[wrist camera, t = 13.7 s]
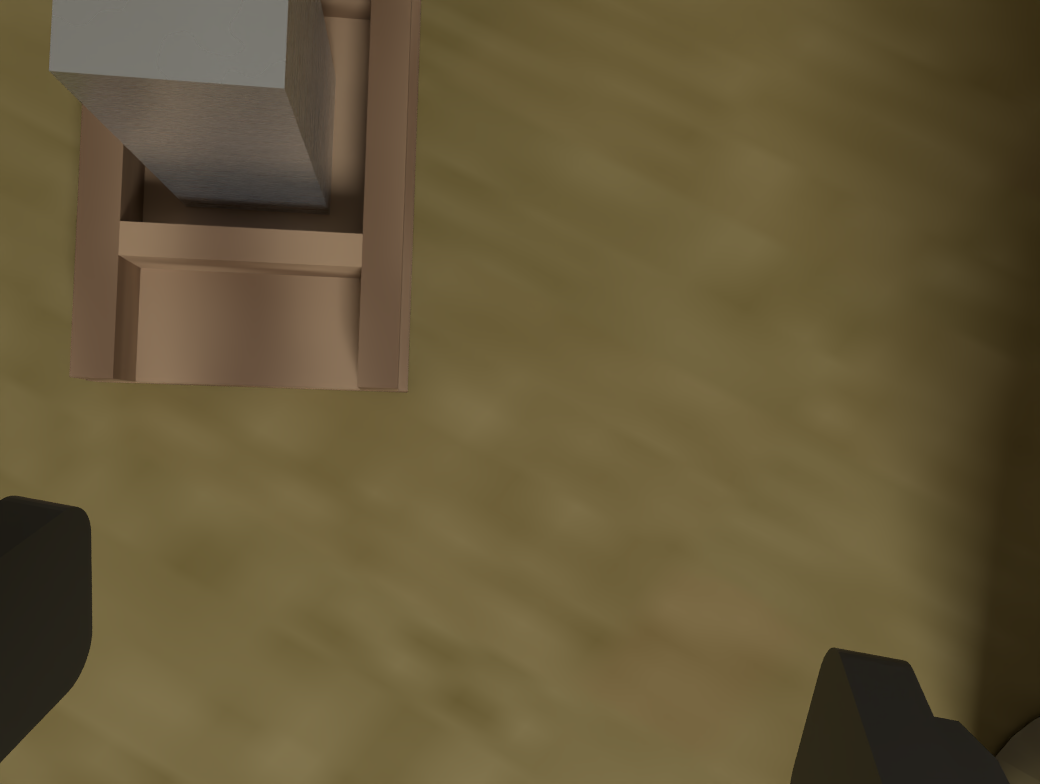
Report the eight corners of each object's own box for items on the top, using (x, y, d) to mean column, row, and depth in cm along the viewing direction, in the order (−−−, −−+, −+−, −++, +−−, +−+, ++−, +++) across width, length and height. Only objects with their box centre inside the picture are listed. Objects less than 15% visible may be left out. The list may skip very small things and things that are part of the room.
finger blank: (336, 59, 32) (295, -161, 20) (329, 214, 31) (284, 88, 19) (194, 48, 31) (62, -185, 19) (186, 206, 31) (49, 70, 19)
